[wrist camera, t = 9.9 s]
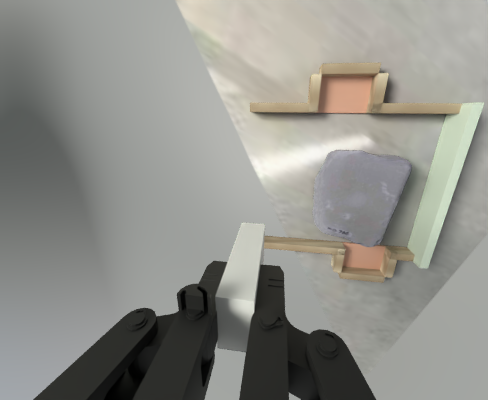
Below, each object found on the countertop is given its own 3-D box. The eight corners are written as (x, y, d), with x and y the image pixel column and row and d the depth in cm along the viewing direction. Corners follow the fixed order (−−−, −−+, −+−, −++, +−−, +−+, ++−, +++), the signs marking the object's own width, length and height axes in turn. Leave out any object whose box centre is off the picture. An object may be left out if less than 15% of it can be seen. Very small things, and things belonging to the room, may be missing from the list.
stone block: (331, 146, 25) (425, 162, 24) (323, 142, 30) (403, 155, 29) (305, 238, 29) (384, 255, 28) (301, 222, 34) (370, 236, 33)
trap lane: (252, 68, 28) (249, 61, 25) (470, 65, 25) (500, 56, 21) (248, 261, 37) (245, 275, 34) (405, 276, 34) (419, 293, 31)
